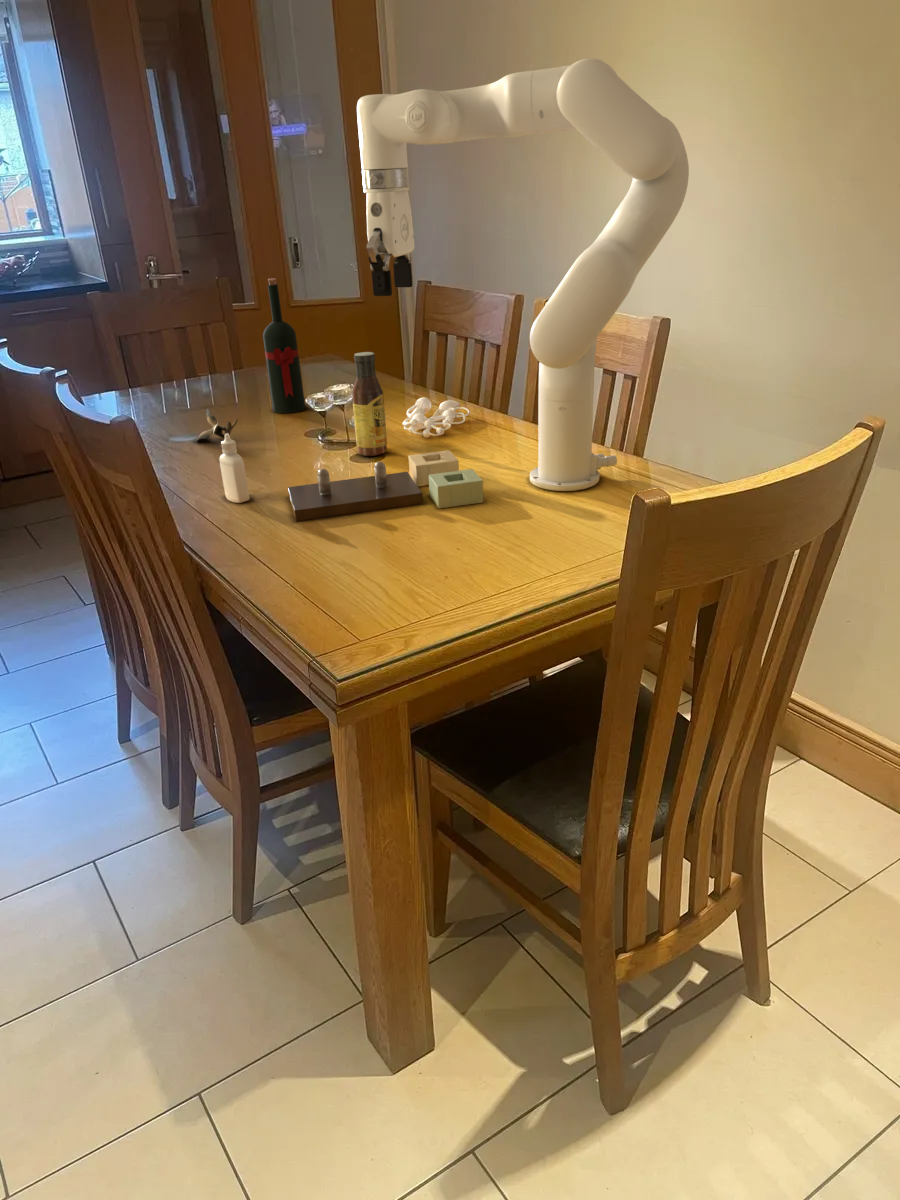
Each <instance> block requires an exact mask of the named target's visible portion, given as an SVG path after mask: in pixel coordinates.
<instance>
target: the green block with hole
mask: <svg viewBox="0 0 900 1200" xmlns="http://www.w3.org/2000/svg"><path fill="white" fill-rule="evenodd" d="M428 487H429V488H428V489H429V497H430V499H431V500H432V501H433V503H434V504H435V506H436V507H437V508H438V509H445V508H446V509H447V508H453V507H460V506H466V505H474V504H482V503H484V481H483V479H482V478H481V477H480V476H479V474H477V472H476V471H475V470H474V469H473V468H469V469H461V470H460V469H459V471H453V472H445V473H438V474H430V475H429V485H428Z"/></svg>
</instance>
